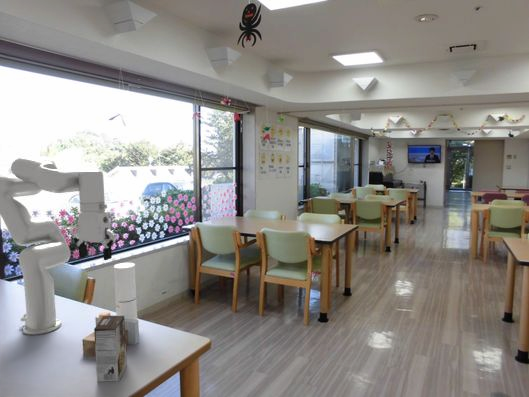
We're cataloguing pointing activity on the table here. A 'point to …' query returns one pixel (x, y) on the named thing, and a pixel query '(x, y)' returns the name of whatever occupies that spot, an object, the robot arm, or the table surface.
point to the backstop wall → (129, 330)
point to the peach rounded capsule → (103, 315)
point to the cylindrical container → (125, 290)
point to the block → (90, 343)
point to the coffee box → (110, 348)
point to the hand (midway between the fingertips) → (95, 258)
